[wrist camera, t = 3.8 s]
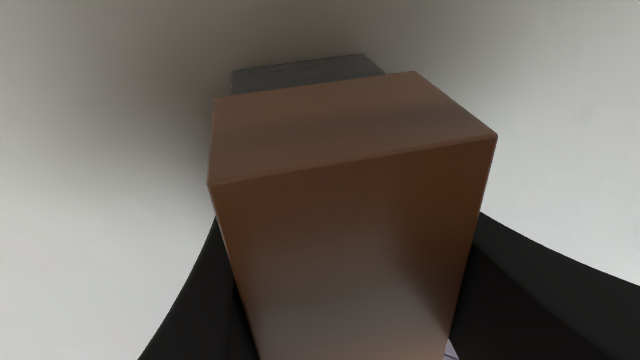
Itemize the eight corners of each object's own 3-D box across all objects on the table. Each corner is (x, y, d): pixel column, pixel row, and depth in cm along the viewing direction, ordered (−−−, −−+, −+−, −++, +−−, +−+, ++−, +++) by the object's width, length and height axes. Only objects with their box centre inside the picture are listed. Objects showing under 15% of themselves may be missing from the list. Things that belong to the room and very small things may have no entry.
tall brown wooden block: (216, 59, 9) (204, 183, 5) (376, 40, 10) (500, 133, 5) (264, 273, 14) (281, 436, 9) (370, 251, 14) (435, 396, 10)
